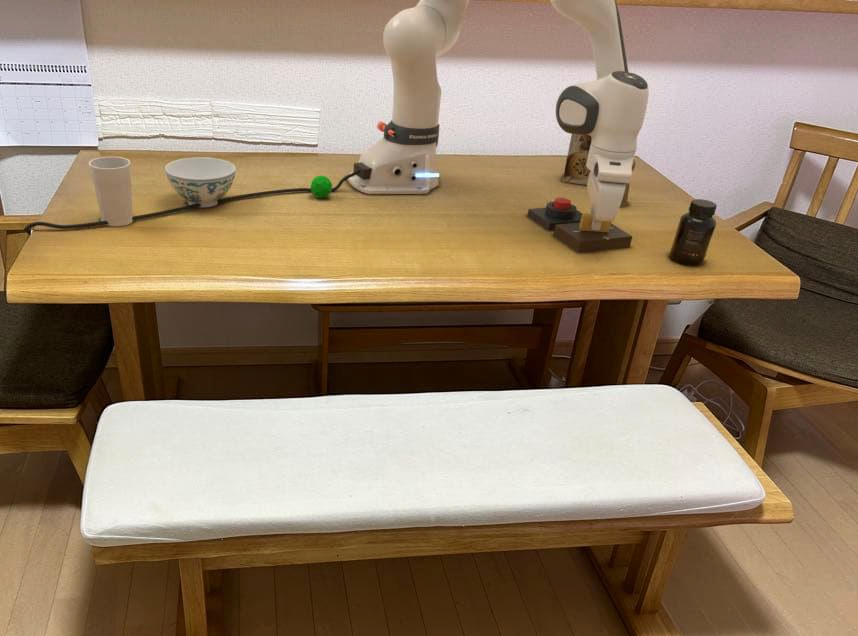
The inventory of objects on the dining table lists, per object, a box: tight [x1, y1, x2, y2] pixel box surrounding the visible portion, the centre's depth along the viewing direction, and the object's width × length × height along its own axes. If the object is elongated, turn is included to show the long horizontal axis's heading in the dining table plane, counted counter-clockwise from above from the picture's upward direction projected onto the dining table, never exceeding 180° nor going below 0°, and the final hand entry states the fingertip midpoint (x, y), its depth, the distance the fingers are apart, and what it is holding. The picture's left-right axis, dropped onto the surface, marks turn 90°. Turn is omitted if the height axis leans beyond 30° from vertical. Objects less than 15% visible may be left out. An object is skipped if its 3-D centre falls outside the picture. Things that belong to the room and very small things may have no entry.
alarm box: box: [526, 201, 583, 231], centre depth 169 cm, size 11×9×4 cm
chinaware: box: [164, 156, 237, 209], centre depth 165 cm, size 15×15×8 cm
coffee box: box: [561, 134, 592, 186], centre depth 190 cm, size 9×6×16 cm
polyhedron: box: [310, 175, 333, 199], centre depth 173 cm, size 5×5×5 cm
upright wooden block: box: [579, 212, 612, 232], centre depth 158 cm, size 6×2×3 cm, turn 88°
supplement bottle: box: [669, 198, 717, 267], centre depth 152 cm, size 7×7×12 cm
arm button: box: [553, 197, 572, 210], centre depth 168 cm, size 4×4×2 cm
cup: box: [88, 156, 134, 227], centre depth 153 cm, size 8×8×12 cm
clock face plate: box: [553, 221, 633, 254], centre depth 160 cm, size 13×10×3 cm
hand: (594, 226), depth 159 cm, fingers closed on upright wooden block, 2 cm apart
